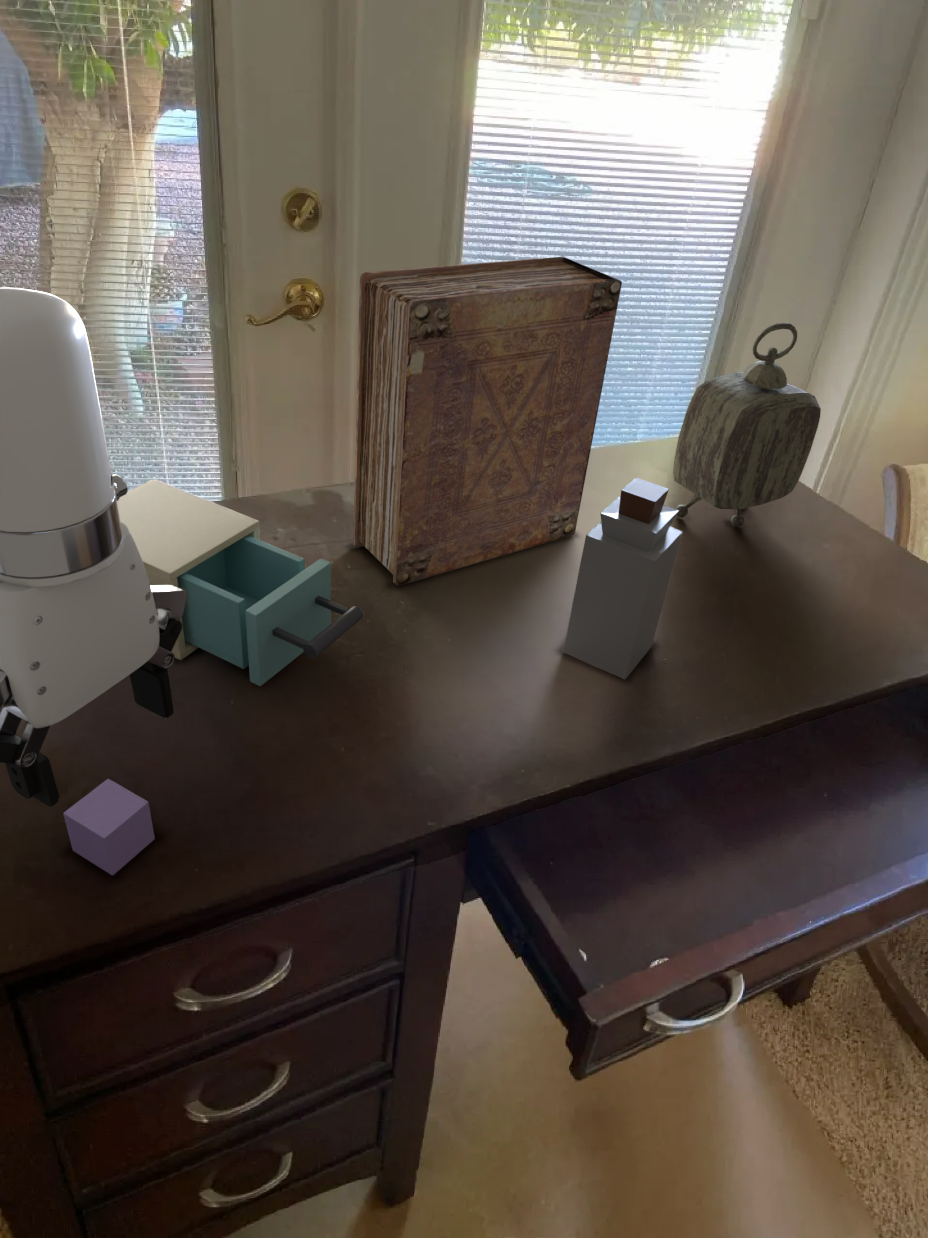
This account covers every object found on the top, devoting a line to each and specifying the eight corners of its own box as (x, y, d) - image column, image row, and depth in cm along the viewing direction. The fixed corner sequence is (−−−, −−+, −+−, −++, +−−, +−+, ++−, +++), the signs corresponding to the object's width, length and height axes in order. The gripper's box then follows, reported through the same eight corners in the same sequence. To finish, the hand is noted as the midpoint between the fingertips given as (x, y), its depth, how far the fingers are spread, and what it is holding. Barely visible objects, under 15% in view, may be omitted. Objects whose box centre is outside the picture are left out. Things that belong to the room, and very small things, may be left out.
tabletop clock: (738, 493, 120) (795, 306, 106) (789, 524, 114) (857, 331, 100) (659, 513, 113) (708, 317, 99) (709, 548, 108) (769, 344, 93)
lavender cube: (112, 876, 62) (104, 838, 60) (72, 850, 64) (62, 813, 61) (155, 839, 65) (148, 801, 63) (115, 815, 67) (108, 778, 64)
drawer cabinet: (263, 602, 90) (259, 520, 85) (180, 660, 82) (169, 573, 76) (164, 558, 95) (154, 478, 89) (76, 609, 87) (58, 523, 81)
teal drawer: (372, 648, 84) (375, 580, 80) (304, 708, 77) (303, 636, 72) (231, 586, 91) (226, 519, 86) (155, 635, 83) (145, 565, 78)
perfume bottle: (651, 646, 90) (694, 488, 80) (625, 679, 85) (666, 516, 75) (592, 621, 93) (626, 464, 82) (563, 652, 88) (594, 490, 78)
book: (393, 587, 95) (407, 301, 77) (352, 546, 101) (357, 272, 83) (575, 535, 107) (623, 278, 90) (529, 501, 113) (566, 254, 96)
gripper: (120, 454, 57) (155, 662, 67) (-149, 575, 44) (-56, 809, 54) (209, 488, 54) (232, 700, 64) (-51, 628, 41) (28, 863, 51)
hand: (100, 749), depth 59 cm, fingers open, 9 cm apart
